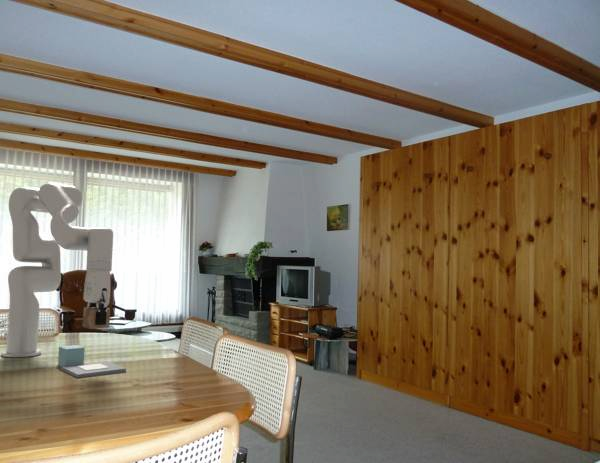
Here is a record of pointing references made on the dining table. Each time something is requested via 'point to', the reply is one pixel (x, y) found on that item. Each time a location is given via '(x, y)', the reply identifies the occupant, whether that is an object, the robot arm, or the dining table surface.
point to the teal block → (71, 355)
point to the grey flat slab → (92, 369)
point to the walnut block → (90, 317)
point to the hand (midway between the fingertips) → (96, 323)
